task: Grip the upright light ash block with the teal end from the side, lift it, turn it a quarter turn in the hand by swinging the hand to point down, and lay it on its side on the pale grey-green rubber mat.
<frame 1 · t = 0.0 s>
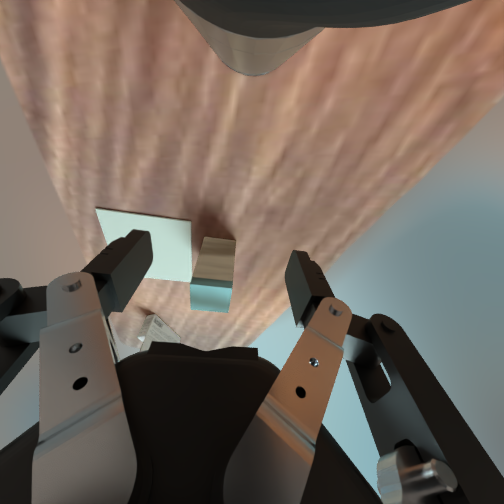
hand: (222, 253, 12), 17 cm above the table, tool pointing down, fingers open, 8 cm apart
ash block: (219, 250, 33), on the table
ink cartridge box: (165, 326, 47), on the table
mat: (151, 249, 33), on the table
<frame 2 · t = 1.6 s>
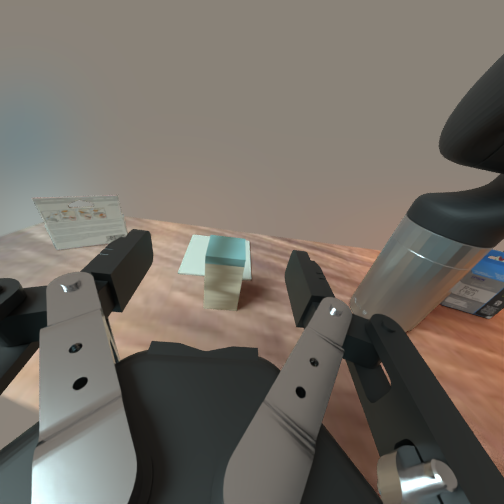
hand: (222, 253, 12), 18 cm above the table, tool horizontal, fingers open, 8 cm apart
ash block: (221, 297, 32), on the table
ink cartridge box: (96, 243, 39), on the table
mat: (218, 255, 41), on the table
label tape box: (457, 305, 41), on the table
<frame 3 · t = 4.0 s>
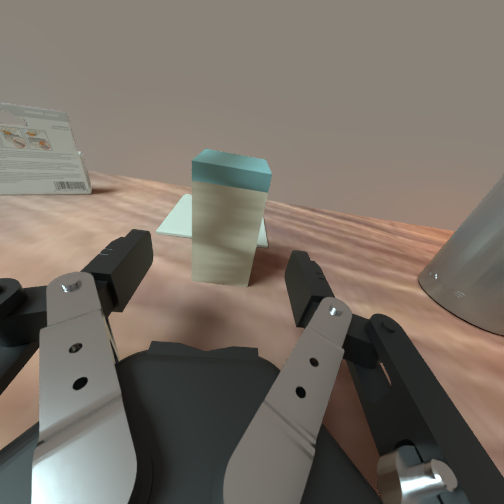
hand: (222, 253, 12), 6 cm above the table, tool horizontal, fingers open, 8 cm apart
ash block: (222, 266, 20), on the table
ink cartridge box: (40, 194, 26), on the table
mat: (219, 217, 29), on the table
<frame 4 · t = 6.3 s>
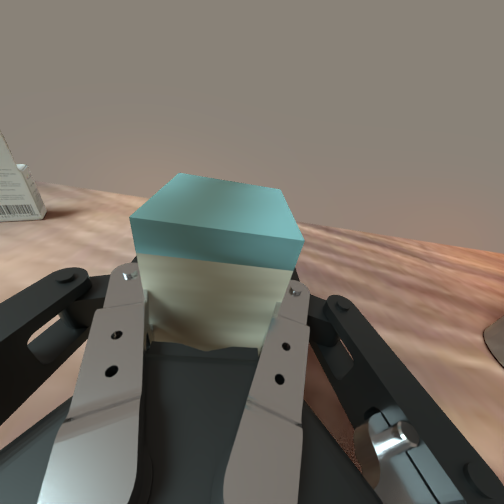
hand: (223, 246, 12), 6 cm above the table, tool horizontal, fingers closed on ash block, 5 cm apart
ash block: (212, 343, 13), on the table, touching gripper
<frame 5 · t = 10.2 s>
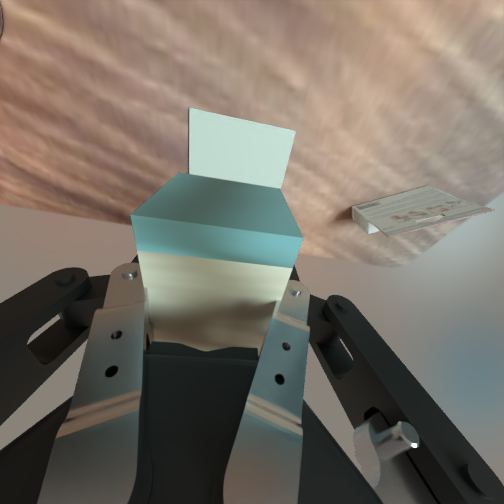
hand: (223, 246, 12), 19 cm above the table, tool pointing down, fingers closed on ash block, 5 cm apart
ash block: (213, 342, 13), point 22 cm above the table, tilted 90°, touching gripper
ink cartridge box: (387, 201, 31), on the table
mat: (237, 174, 28), on the table
when the fingers open (2 cm above the table, at t = 13.7 s): ash block drops 2 cm, resting on mat.
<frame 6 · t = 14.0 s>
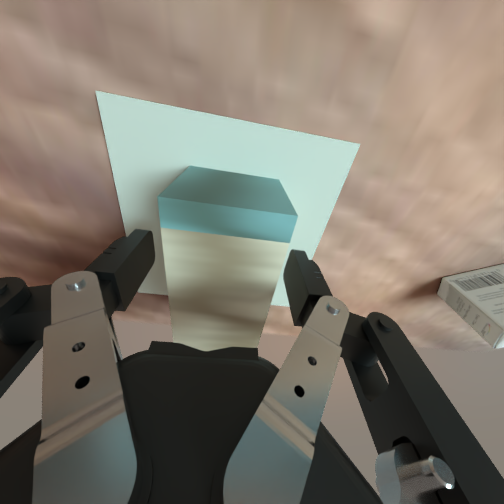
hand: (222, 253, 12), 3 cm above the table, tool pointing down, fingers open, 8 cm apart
ash block: (219, 321, 15), point 3 cm above the table, tilted 90°, touching mat
mat: (226, 231, 14), on the table
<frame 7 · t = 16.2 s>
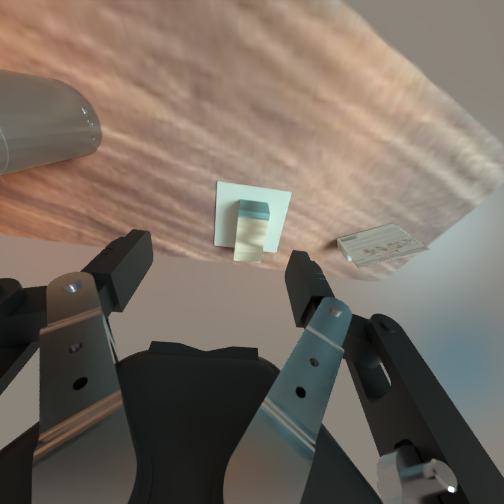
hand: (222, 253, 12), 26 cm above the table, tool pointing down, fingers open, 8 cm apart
ash block: (247, 254, 39), point 3 cm above the table, tilted 90°, touching mat
ink cartridge box: (364, 234, 41), on the table
mat: (249, 220, 38), on the table
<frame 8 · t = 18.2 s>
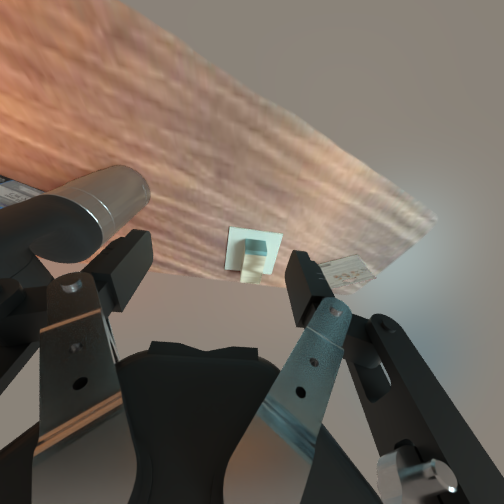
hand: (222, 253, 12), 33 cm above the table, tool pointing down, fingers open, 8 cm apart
ash block: (249, 276, 53), point 3 cm above the table, tilted 90°, touching mat
ink cartridge box: (336, 261, 55), on the table
mat: (252, 252, 52), on the table
label tape box: (24, 191, 42), on the table
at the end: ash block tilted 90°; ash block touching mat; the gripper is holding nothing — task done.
